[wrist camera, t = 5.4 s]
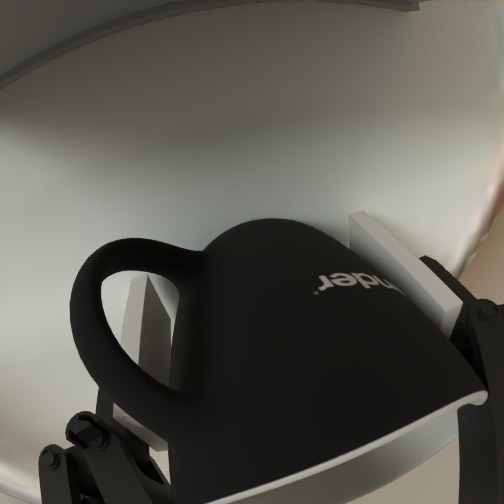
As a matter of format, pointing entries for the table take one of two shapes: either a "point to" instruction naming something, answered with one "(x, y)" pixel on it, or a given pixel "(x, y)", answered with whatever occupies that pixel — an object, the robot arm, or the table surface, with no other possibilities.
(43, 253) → the table surface
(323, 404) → the mug
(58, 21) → the large grey square box
